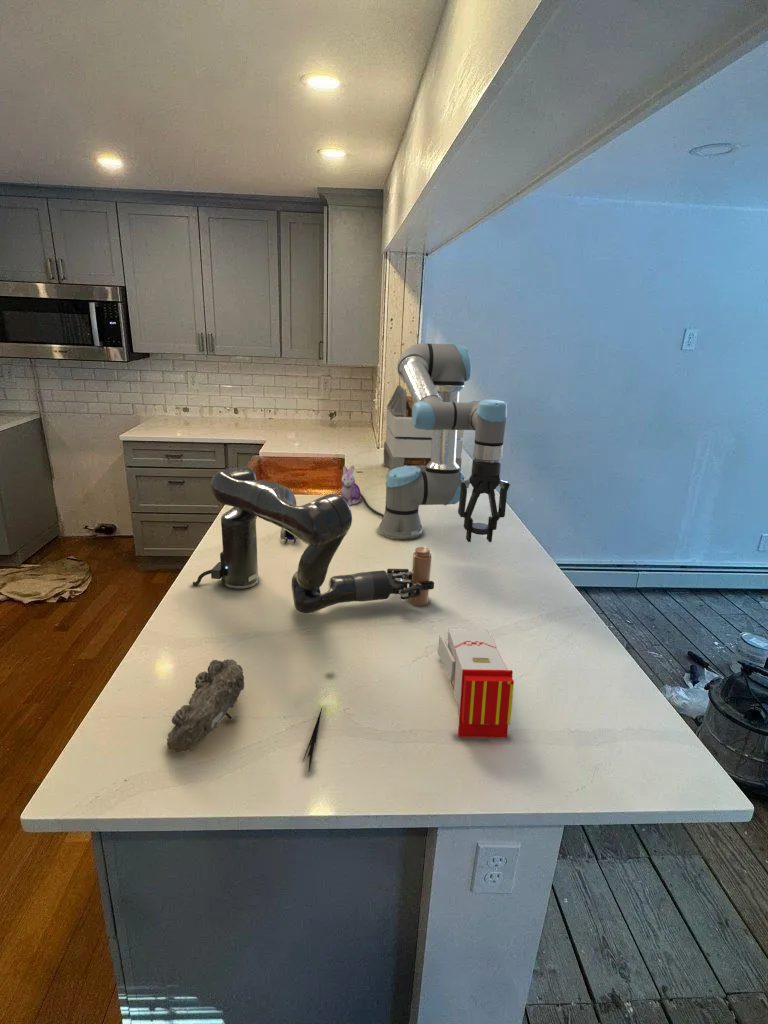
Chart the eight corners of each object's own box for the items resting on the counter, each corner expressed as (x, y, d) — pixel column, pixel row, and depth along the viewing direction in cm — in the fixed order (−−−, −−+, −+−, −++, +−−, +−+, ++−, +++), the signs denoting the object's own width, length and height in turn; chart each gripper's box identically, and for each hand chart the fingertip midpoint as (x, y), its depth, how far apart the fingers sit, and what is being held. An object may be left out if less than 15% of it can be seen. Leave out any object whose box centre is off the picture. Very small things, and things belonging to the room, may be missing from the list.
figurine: (344, 507, 223) (345, 470, 218) (334, 499, 232) (334, 463, 227) (366, 504, 228) (367, 468, 223) (355, 496, 236) (356, 461, 231)
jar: (418, 595, 158) (422, 544, 153) (431, 602, 154) (435, 550, 149) (406, 600, 155) (409, 548, 149) (419, 607, 151) (422, 555, 146)
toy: (488, 613, 130) (523, 677, 101) (484, 667, 133) (517, 744, 104) (435, 612, 130) (455, 676, 101) (432, 666, 133) (451, 743, 103)
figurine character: (300, 550, 186) (305, 528, 199) (299, 529, 183) (304, 509, 196) (279, 549, 186) (286, 528, 199) (278, 529, 182) (285, 508, 196)
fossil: (192, 660, 117) (244, 628, 112) (224, 691, 120) (276, 661, 115) (142, 746, 98) (202, 712, 93) (182, 779, 101) (242, 748, 96)
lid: (474, 535, 154) (475, 529, 154) (466, 528, 159) (467, 523, 159) (492, 534, 156) (493, 528, 155) (484, 527, 161) (484, 521, 160)
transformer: (382, 463, 289) (386, 382, 275) (445, 464, 293) (451, 384, 279) (390, 482, 257) (394, 392, 243) (460, 483, 261) (468, 394, 247)
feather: (331, 679, 122) (336, 673, 122) (307, 777, 96) (313, 769, 95) (324, 675, 122) (329, 669, 121) (298, 772, 95) (304, 764, 95)
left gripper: (377, 585, 141) (440, 579, 145) (362, 561, 154) (421, 556, 158) (376, 612, 143) (438, 605, 148) (361, 586, 156) (419, 580, 161)
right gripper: (515, 456, 155) (506, 535, 163) (450, 455, 153) (443, 535, 161) (524, 463, 148) (514, 545, 156) (456, 462, 146) (449, 545, 154)
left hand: (429, 580), depth 153 cm, fingers closed on jar, 5 cm apart
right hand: (478, 540), depth 158 cm, fingers closed on lid, 5 cm apart
